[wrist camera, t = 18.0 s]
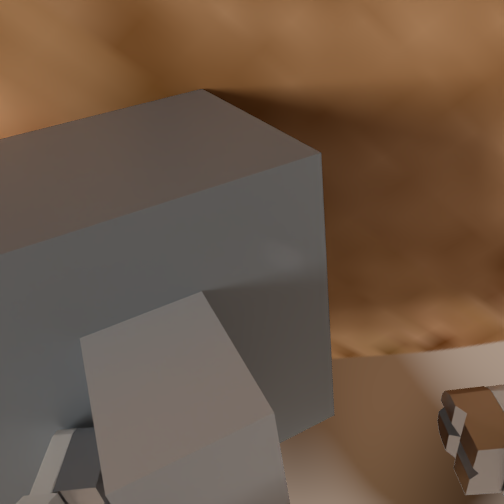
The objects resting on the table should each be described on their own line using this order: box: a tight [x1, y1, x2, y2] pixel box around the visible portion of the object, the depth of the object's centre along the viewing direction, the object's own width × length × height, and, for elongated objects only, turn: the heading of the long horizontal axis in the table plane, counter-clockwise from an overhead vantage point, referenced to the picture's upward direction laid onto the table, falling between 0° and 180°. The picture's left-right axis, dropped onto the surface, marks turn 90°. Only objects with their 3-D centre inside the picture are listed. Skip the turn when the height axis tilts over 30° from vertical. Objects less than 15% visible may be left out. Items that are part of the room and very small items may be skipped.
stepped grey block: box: [0, 89, 334, 504], centre depth 14 cm, size 10×10×13 cm
